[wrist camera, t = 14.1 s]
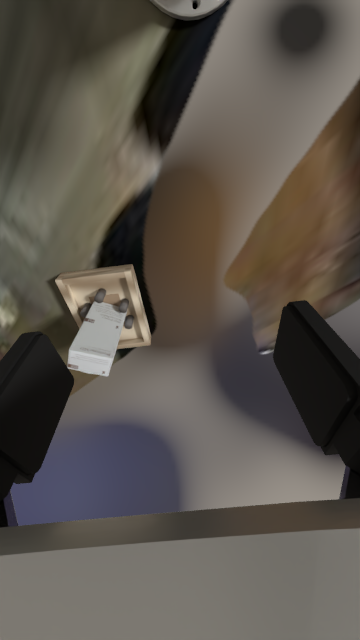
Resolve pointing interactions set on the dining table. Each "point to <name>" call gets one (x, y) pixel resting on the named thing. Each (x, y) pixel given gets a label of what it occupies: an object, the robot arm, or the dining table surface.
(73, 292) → the pin tray
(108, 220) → the dining table surface
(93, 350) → the skincare box
